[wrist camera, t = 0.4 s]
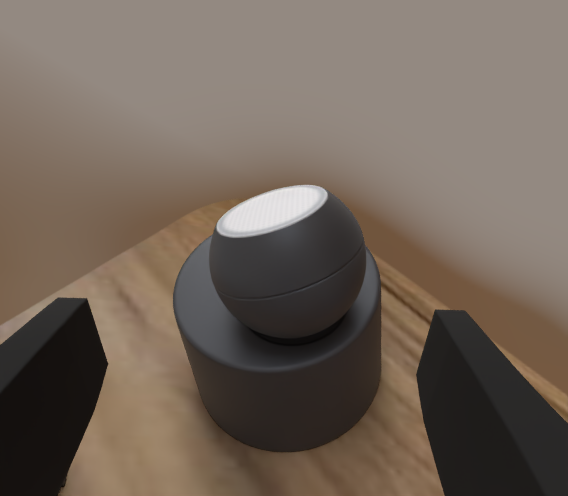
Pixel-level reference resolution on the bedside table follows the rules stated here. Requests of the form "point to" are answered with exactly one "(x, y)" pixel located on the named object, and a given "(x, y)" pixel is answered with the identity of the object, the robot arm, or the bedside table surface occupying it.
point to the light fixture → (283, 320)
